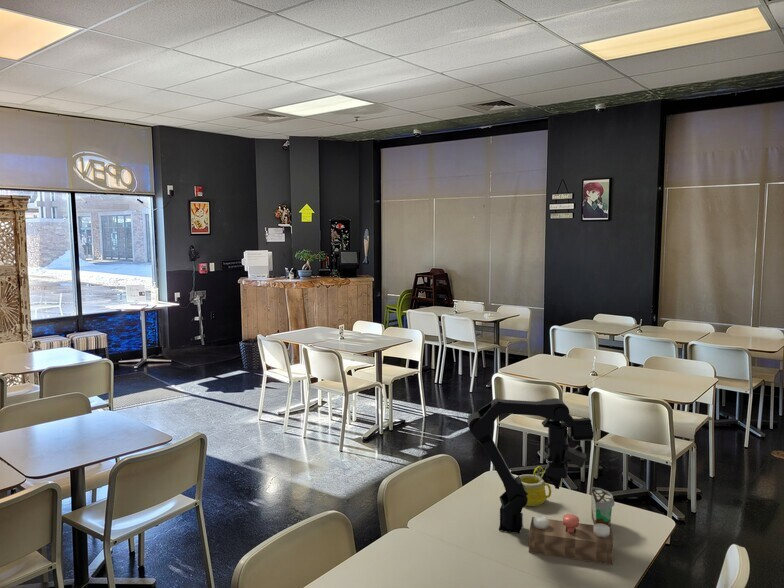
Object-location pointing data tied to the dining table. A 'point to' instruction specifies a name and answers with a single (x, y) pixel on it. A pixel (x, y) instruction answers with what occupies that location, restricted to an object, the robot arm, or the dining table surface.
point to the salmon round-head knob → (570, 522)
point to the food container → (601, 506)
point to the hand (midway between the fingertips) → (557, 488)
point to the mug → (535, 488)
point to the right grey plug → (601, 530)
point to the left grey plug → (540, 522)
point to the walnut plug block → (571, 542)
